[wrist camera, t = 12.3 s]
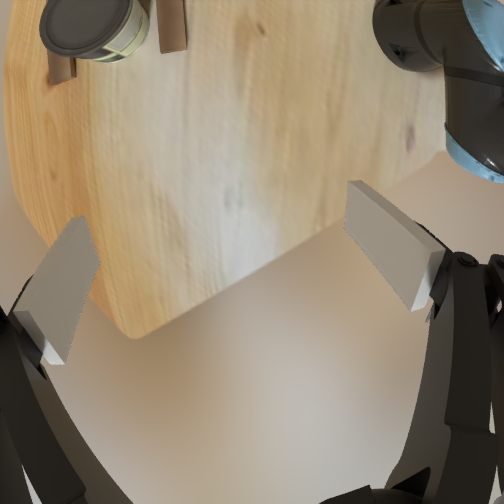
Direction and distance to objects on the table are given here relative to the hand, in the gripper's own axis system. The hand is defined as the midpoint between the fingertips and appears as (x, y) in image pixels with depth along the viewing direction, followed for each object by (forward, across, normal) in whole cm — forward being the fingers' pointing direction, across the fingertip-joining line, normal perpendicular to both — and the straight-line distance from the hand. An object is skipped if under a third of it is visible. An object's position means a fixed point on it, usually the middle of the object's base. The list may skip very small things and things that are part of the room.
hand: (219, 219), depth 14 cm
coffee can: (+31, -12, +17) cm, 37 cm away
